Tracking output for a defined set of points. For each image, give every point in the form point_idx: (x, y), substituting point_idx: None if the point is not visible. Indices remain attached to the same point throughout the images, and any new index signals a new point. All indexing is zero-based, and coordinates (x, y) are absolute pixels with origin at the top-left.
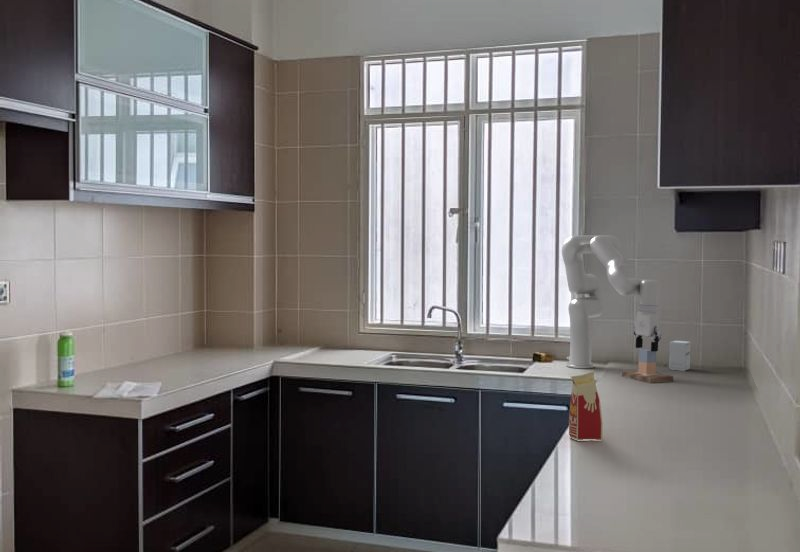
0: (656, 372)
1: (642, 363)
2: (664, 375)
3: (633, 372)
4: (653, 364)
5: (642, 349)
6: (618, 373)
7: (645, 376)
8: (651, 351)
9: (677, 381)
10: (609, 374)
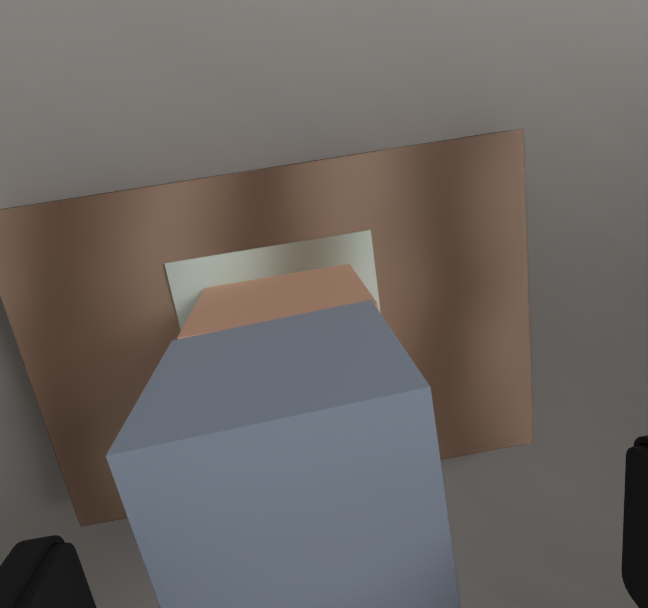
0: None
1: (276, 312)
2: None
3: (399, 226)
4: None
5: (385, 466)
6: (640, 183)
7: (96, 219)
8: (156, 564)
9: None
10: (626, 35)
